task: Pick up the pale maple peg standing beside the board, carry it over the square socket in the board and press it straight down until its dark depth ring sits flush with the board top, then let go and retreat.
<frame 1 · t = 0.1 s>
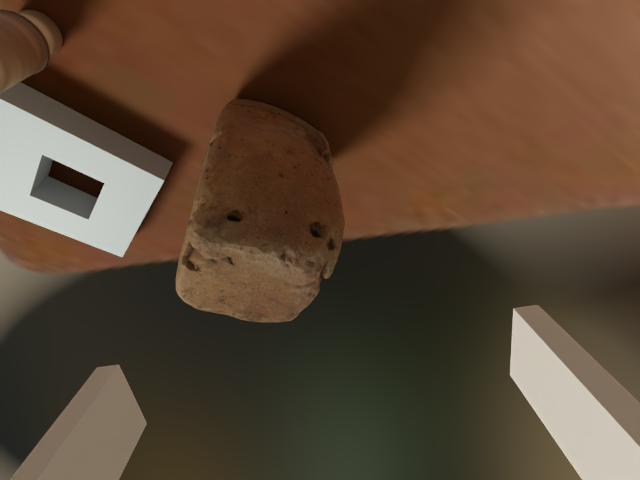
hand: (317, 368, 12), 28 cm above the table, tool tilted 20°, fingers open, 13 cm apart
peg: (40, 32, 29), on the table
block: (273, 138, 36), on the table
board: (82, 170, 37), on the table
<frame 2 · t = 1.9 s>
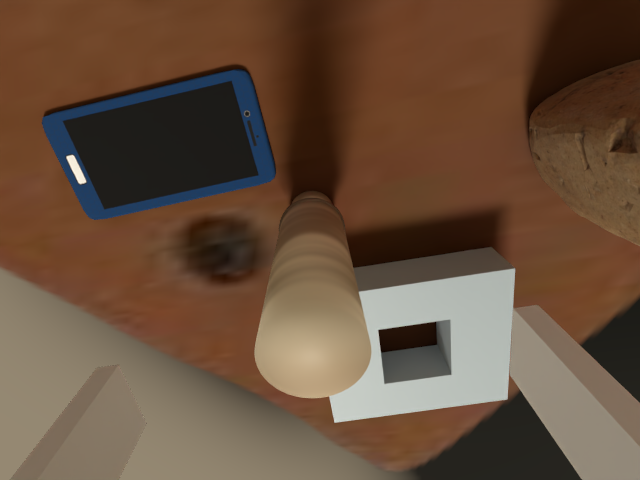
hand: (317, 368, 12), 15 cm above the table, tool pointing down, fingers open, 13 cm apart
peg: (311, 212, 26), on the table
cell phone: (167, 148, 25), on the table
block: (598, 122, 24), on the table
board: (404, 324, 30), on the table
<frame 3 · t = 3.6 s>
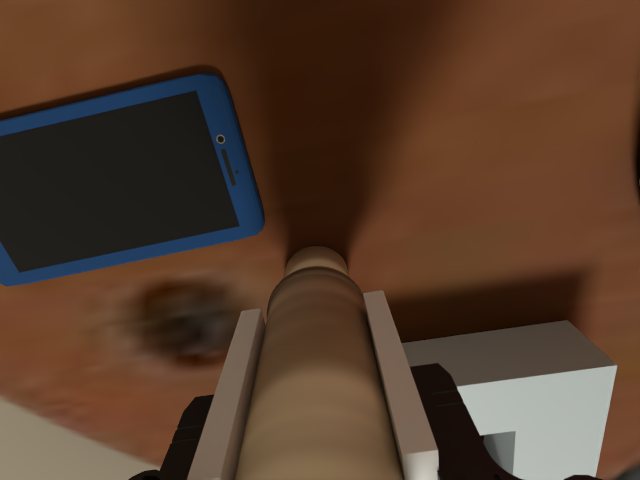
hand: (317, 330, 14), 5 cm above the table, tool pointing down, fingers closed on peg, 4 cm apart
peg: (316, 274, 18), on the table, touching gripper
cell phone: (107, 186, 17), on the table
board: (441, 416, 22), on the table
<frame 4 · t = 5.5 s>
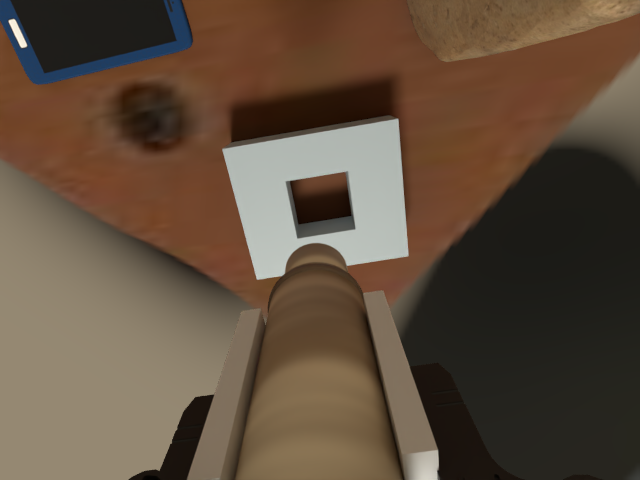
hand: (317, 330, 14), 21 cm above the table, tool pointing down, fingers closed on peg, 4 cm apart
peg: (316, 271, 19), point 16 cm above the table, touching gripper
cell phone: (97, 17, 29), on the table
board: (320, 194, 34), on the table
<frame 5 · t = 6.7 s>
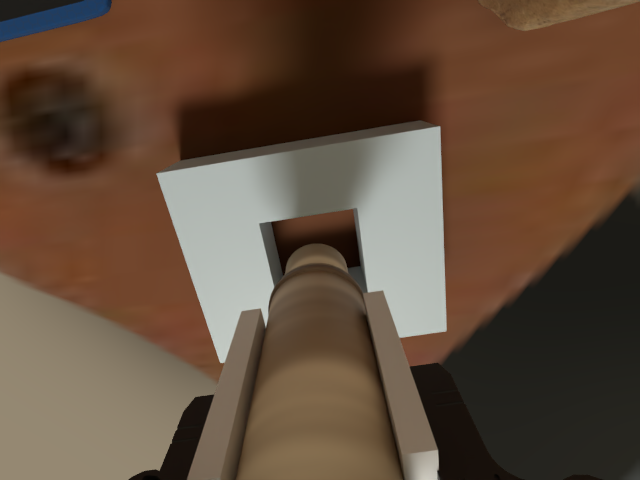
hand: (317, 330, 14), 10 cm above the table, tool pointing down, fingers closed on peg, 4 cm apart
peg: (316, 271, 19), point 5 cm above the table, touching gripper
board: (315, 236, 23), on the table
when the fingers open (6 cm above the table, at t = 7.8 s): peg stays where it is, resting in board.
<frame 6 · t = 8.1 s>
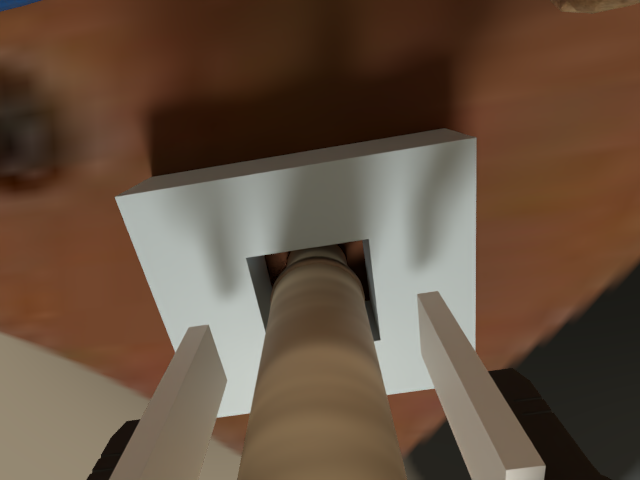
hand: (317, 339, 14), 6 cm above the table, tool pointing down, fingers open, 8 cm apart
peg: (316, 266, 19), resting in board
board: (316, 265, 19), on the table
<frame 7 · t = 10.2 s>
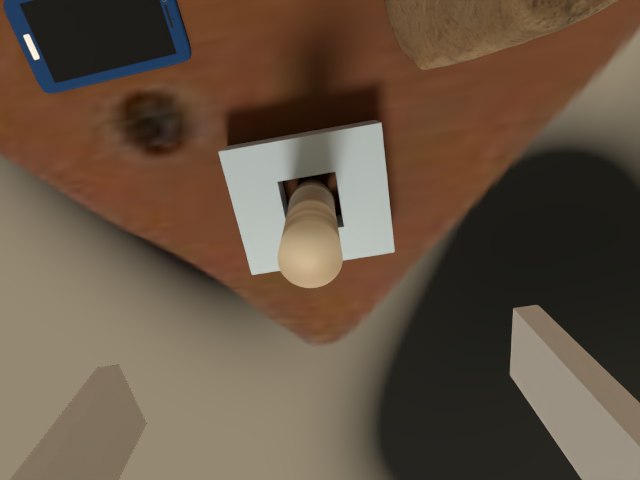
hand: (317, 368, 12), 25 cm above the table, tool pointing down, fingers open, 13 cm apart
peg: (312, 194, 36), resting in board
cell phone: (104, 32, 31), on the table
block: (447, 5, 30), on the table
board: (311, 194, 36), on the table
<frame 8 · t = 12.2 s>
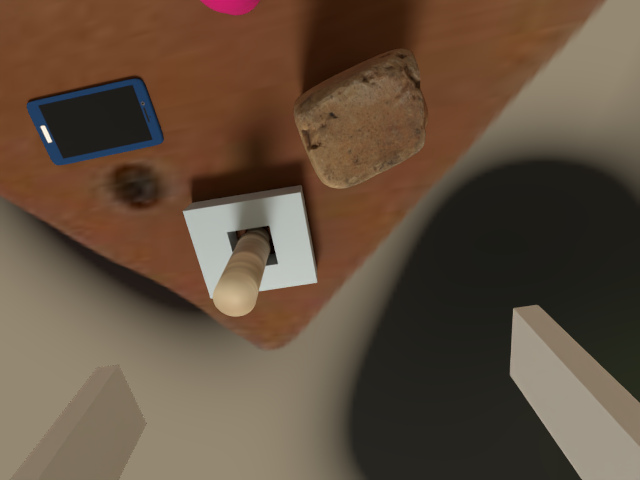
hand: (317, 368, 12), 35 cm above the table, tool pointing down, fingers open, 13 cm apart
peg: (257, 237, 48), resting in board
cell phone: (99, 122, 43), on the table
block: (348, 107, 42), on the table
board: (257, 237, 48), on the table
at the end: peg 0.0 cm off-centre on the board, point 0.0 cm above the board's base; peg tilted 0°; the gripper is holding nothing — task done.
